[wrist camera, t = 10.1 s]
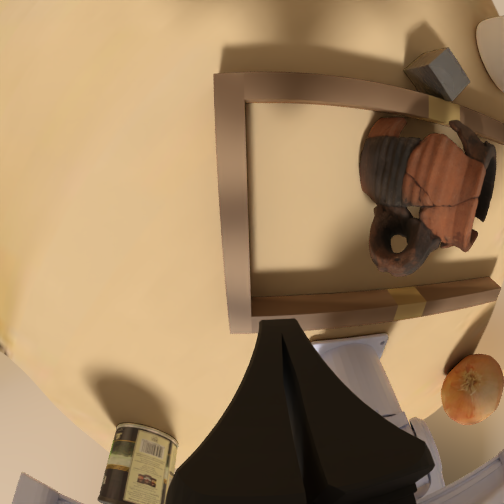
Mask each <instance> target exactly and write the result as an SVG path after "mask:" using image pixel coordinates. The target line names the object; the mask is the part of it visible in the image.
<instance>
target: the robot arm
mask: <svg viewBox="0 0 504 504" xmlns="http://www.w3.org/2000/svg"><path fill="white" fill-rule="evenodd" d="M387 340H388V335H387V334H386V333H382V334H375V335H368V336H360V337H352V338H344V339H334V340H324V341H314V342H310V341H309V339H308V338H307V336H306V335H305V333H304V331H303V330H302V328H301V326H300V325H299V323H298V321H297V320H296V319H295V318H290V319H270V320H261V321H260V322H259V331H258V337H257V341H256V345H255V348H254V351H253V354H252V357H251V360H250V363H249V366H248V368H247V370H246V373H245V375H244V377H243V380H242V382H241V384H240V386H239V388H238V390H237V392H236V394H235V395H234V397H233V399H232V401H231V403H230V404H229V406H228V407H227V409H226V411H225V412H224V414H223V415H222V417H221V418H220V420H219V421H218V423H217V424H216V425H215V427H214V428H213V429H212V431H211V432H210V433H209V435H208V436H207V437H206V438H205V440H204V441H203V442H202V443H201V445H200V446H199V447H198V448H197V449H196V450H195V451H194V452H193V453H192V455H191V456H190V457H189V458H188V459H187V460H186V461H185V462H184V463H183V464H182V465H181V466H180V467H179V468H178V469H177V470H176V472H175V474H174V476H173V478H172V480H171V483H170V485H169V488H168V491H167V494H166V500H165V504H504V449H503V450H502V451H501V452H500V453H499V454H498V455H496V456H495V457H493V458H492V459H491V460H489V461H488V462H486V463H485V464H483V465H482V466H480V467H479V468H477V469H475V470H474V471H472V472H470V473H469V474H467V475H465V476H464V477H462V478H460V479H458V480H457V481H455V482H453V483H451V484H449V485H447V486H445V483H444V479H443V476H442V464H441V460H440V457H439V453H438V450H437V447H436V445H435V442H434V439H433V437H432V434H431V432H430V430H429V428H428V426H427V424H426V423H425V421H424V420H422V419H418V418H417V417H414V418H412V419H410V420H409V421H410V425H411V427H410V425H409V422H408V420H407V417H406V415H405V412H402V410H401V408H400V405H399V403H398V400H397V398H396V396H395V393H394V391H393V389H392V386H391V384H390V382H389V379H388V377H387V375H386V373H385V370H384V368H383V366H382V364H381V362H380V358H381V356H382V353H383V351H384V348H385V345H386V343H387ZM411 428H412V429H411ZM12 504H83V503H80V502H78V501H76V500H73V499H71V498H69V497H67V496H64V495H62V494H60V493H58V491H56V490H54V489H52V488H50V487H49V486H47V485H45V484H44V483H42V482H40V481H38V480H36V479H34V478H32V477H31V476H29V475H27V474H26V473H24V472H22V473H21V476H20V479H19V482H18V485H17V488H16V491H15V495H14V498H13V502H12Z"/></svg>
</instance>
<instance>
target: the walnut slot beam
mask: <svg viewBox="0 0 504 504" xmlns="http://www.w3.org/2000/svg"><path fill="white" fill-rule="evenodd" d="M245 103H300V104H318V105H331V106H341V107H350V108H359V109H366V110H373V111H379V112H385V113H391V114H397V115H402V116H407V117H412V118H416V119H421V120H425V121H429V122H433V123H437V124H441V125H445V126H448V127H450V126H449V121H451V120H459V121H460V122H461V123H463V124H464V125H465V126H467V127H469V128H470V129H471V130H472V131H473V132H474V133H475V134H476V135H477V136H480V137H483V138H486V139H489V140H492V141H494V142H497V143H499V144H502V145H504V124H503V123H501V122H499V121H497V120H495V119H493V118H490V117H488V116H486V115H483V114H481V113H479V112H476V111H474V110H471V109H469V108H466V107H463V106H461V105H458V104H455V103H452V102H449V101H445V100H443V99H440V98H437V97H434V96H430V95H427V94H424V93H420V92H416V91H412V90H409V89H405V88H400V87H396V86H392V85H387V84H382V83H377V82H372V81H366V80H360V79H354V78H347V77H339V76H331V75H321V74H309V73H292V72H235V73H218V74H214V107H215V133H216V154H217V173H218V190H219V206H220V221H221V235H222V248H223V261H224V273H225V284H226V296H227V306H228V317H229V327H230V334H247V333H258V331H259V322H260V321H261V320H270V319H290V318H295V319H296V320H297V321H298V323H299V325H300V326H301V328H302V330H303V331H307V330H320V329H331V328H342V327H351V326H360V325H368V324H376V323H384V322H391V321H397V320H404V319H410V318H416V317H422V316H428V315H433V314H439V313H444V312H449V311H454V310H458V309H463V308H468V307H472V306H476V305H481V304H485V303H489V302H493V301H496V300H497V297H498V295H499V292H500V290H501V287H500V286H499V285H498V284H497V283H495V282H494V281H493V280H492V279H491V278H490V277H483V278H476V279H469V280H462V281H454V282H447V283H438V284H430V285H421V286H412V287H402V288H392V289H381V290H370V291H357V292H344V293H330V294H313V295H295V296H273V297H251V288H250V258H249V227H248V195H247V163H246V129H245Z"/></svg>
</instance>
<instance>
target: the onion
mask: <svg viewBox="0 0 504 504" xmlns="http://www.w3.org/2000/svg"><path fill="white" fill-rule="evenodd" d="M503 387H504V377H503V373H502V370H501V368H500V365H499V364H498V363H497V361H496V360H495V359H493V358H492V357H491V356H489V355H484V354H474V355H469V356H467V357H465V358H464V359H463V360H462V361H461V362H459V363H458V364H457V365H456V366H455V367H454V368H453V369H452V370H451V371H450V372H449V373H448V375H447V377H446V379H445V380H444V383H443V386H442V389H441V397H442V404H443V408H444V410H445V412H446V414H447V415H448V416H449V417H450V418H451V419H452V420H454V421H456V422H457V423H460V424H464V425H472V424H476V423H479V422H481V421H482V420H484V419H485V418H487V417H488V416H489V415H490V414H492V413H493V412H494V411H495V410H496V408H497V407H498V405H499V402H500V399H501V396H502V391H503Z"/></svg>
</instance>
